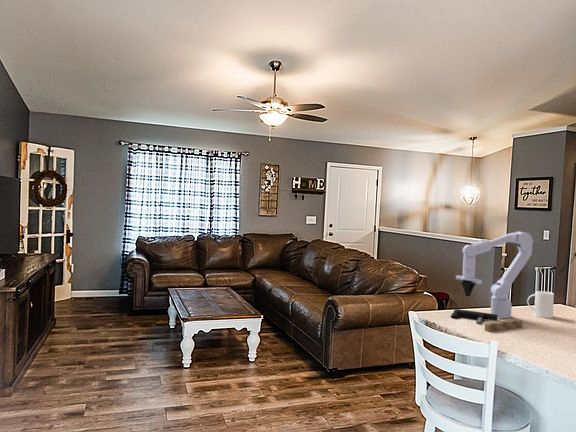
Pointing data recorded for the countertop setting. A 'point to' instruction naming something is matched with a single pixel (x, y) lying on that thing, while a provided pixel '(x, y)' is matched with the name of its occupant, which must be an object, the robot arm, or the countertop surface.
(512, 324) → the bar
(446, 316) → the countertop surface
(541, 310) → the mug
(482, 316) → the door handle
